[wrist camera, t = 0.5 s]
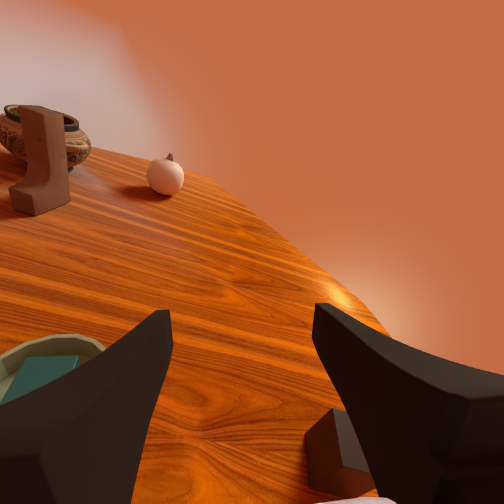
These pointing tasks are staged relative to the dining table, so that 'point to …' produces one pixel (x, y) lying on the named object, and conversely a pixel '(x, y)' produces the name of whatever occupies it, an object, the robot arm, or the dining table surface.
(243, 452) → the dining table surface
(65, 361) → the teal block
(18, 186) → the wooden block
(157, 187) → the ornament
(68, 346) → the dish
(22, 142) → the ceramic bowl
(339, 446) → the dark brown block
